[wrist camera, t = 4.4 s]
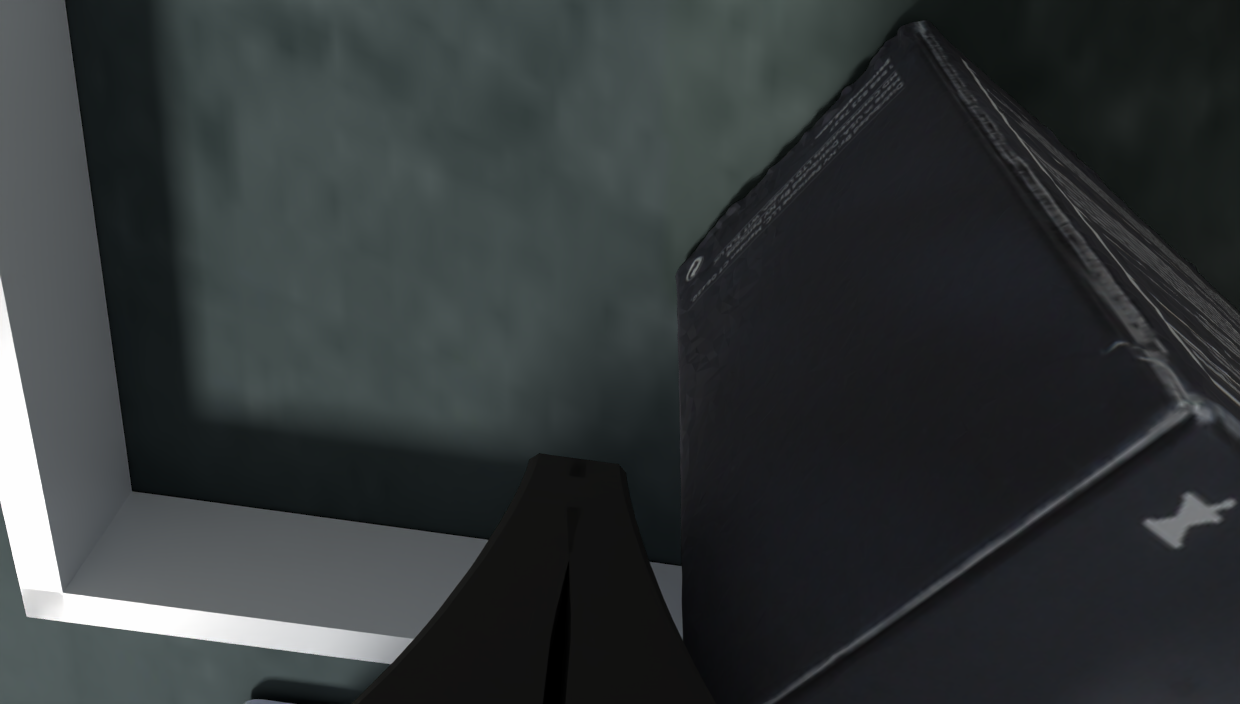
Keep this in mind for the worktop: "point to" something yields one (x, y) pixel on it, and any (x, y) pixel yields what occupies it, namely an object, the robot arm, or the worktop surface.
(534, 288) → the worktop surface
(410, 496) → the worktop surface
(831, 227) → the small box
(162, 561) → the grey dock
